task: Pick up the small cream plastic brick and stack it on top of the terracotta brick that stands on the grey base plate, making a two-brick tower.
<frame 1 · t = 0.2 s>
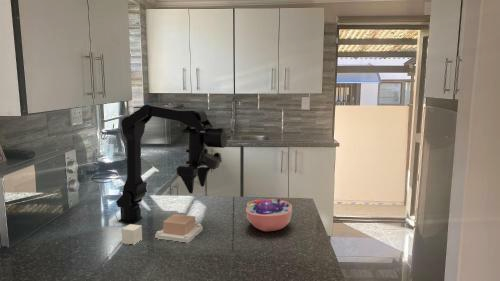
hand: (196, 189, 131), 14 cm above the counter, tool pointing down, fingers open, 9 cm apart
cream brick: (132, 241, 122), on the counter
cell model: (268, 228, 135), on the counter
base plate: (179, 234, 128), on the counter
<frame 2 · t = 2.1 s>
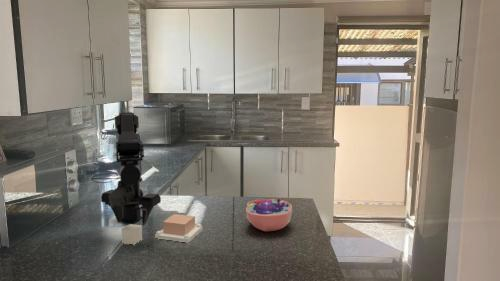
hand: (131, 223, 121), 6 cm above the counter, tool pointing down, fingers open, 9 cm apart
nothing on the counter moved.
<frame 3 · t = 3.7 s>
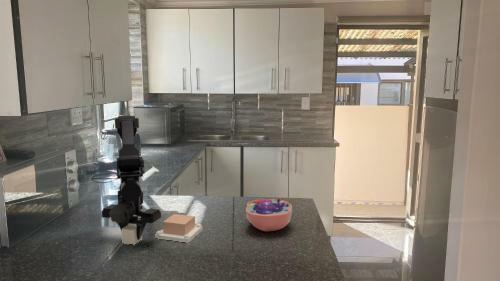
hand: (132, 238, 121), 1 cm above the counter, tool pointing down, fingers closed on cream brick, 4 cm apart
cream brick: (132, 241, 122), on the counter, touching gripper
everything else where it was.
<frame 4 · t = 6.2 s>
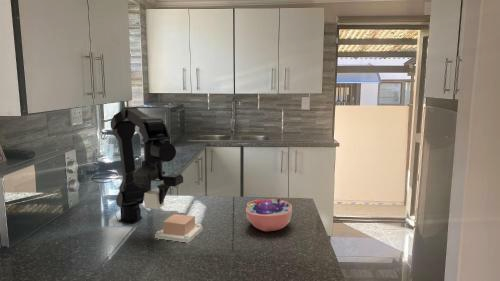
hand: (154, 203, 123), 12 cm above the counter, tool pointing down, fingers closed on cream brick, 4 cm apart
cream brick: (154, 206, 123), point 11 cm above the counter, touching gripper
everything else where it was.
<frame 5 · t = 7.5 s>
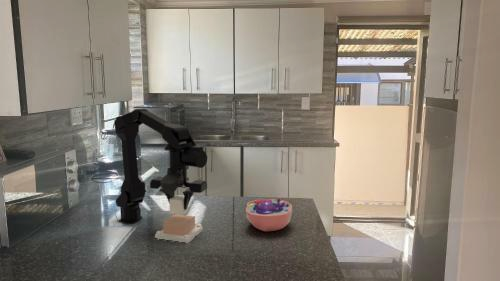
hand: (178, 208, 127), 9 cm above the counter, tool pointing down, fingers closed on cream brick, 4 cm apart
cream brick: (178, 211, 127), point 8 cm above the counter, touching gripper
everything else where it was.
when the fingers open (8 cm above the counter, at t = 8.5 s): cream brick drops 1 cm, resting on base plate.
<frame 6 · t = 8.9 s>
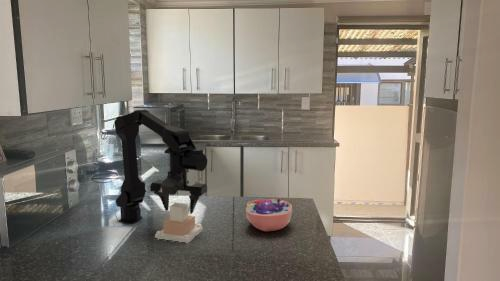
hand: (179, 212, 127), 8 cm above the counter, tool pointing down, fingers open, 9 cm apart
cream brick: (179, 219, 127), point 5 cm above the counter, touching base plate
everything else where it was.
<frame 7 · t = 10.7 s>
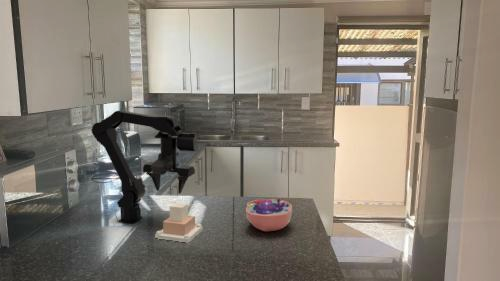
hand: (168, 191, 137), 12 cm above the counter, tool pointing down, fingers open, 9 cm apart
nothing on the counter moved.
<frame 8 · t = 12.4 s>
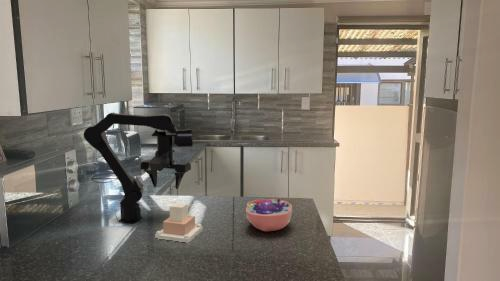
hand: (166, 187, 142), 12 cm above the counter, tool pointing down, fingers open, 9 cm apart
nothing on the counter moved.
at the end: cream brick 0.1 cm off-centre on the base plate, point 5.5 cm above the base plate's base; cream brick tilted 0°; the gripper is holding nothing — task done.
